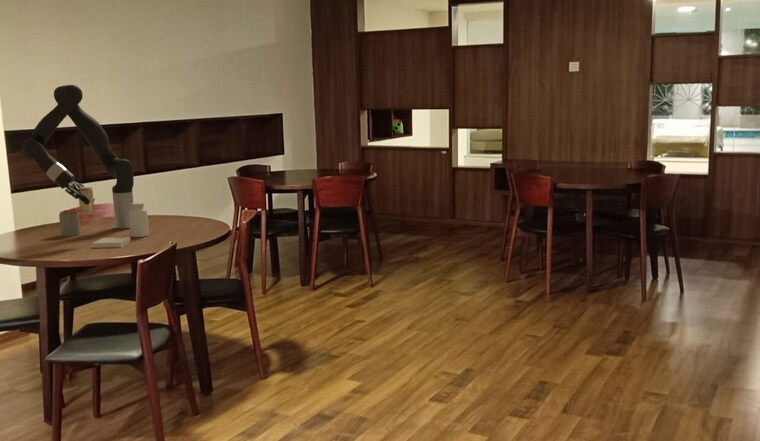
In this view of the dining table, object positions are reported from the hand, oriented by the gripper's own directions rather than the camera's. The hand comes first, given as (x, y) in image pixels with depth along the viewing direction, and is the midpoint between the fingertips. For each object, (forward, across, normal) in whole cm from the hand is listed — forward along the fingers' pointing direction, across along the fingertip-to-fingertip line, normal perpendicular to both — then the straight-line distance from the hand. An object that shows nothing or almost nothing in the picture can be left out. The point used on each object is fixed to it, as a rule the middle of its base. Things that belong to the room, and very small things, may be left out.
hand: (90, 202), depth 326 cm
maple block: (+2, 0, +5) cm, 5 cm away
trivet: (+19, -6, +6) cm, 21 cm away
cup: (-1, +22, +27) cm, 34 cm away
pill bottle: (+24, +14, +2) cm, 27 cm away
